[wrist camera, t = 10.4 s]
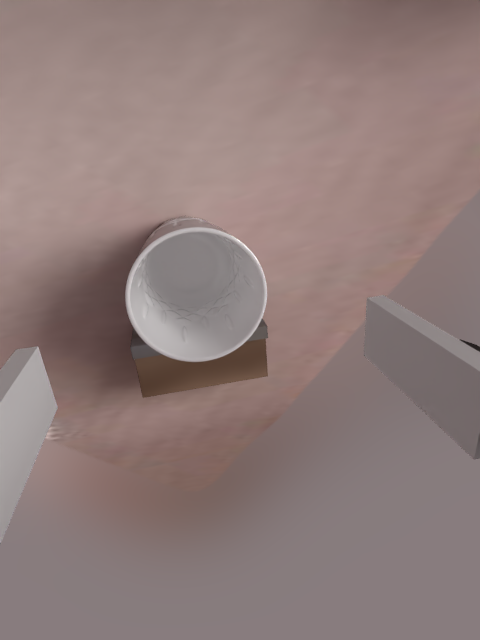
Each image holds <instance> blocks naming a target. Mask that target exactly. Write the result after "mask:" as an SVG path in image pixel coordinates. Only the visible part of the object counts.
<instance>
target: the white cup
mask: <svg viewBox="0 0 480 640" xmlns="http://www.w3.org/2000/svg"><path fill="white" fill-rule="evenodd" d="M266 301H267V285H266V280H265V276H264V272H263V270H262V267H261V265H260V263H259V261H258V260H257V258H256V257H255V255H254V254H253V253H252V252H251V250H250V249H249V248H248V247H247V246H246V245H245V244H243V243H242V242H241V241H240V240H238V239H237V238H235V237H233V236H232V235H231V234H229V233H228V232H226V231H225V230H223V229H222V228H220V227H218V226H216V225H214V224H212V223H210V222H208V221H206V220H203V219H198V218H193V217H188V216H183V217H179V218H175V219H171V220H167V221H165V222H164V223H163V224H162V225H161V226H159V227H158V228H157V229H156V230H155V231H154V232H153V233H152V234H151V235H150V236H149V238H148V239H147V240H146V242H145V243H144V245H143V246H142V248H141V250H140V252H139V254H138V256H137V258H136V260H135V262H134V264H133V266H132V268H131V270H130V273H129V276H128V279H127V283H126V289H125V303H126V309H127V313H128V316H129V319H130V322H131V324H132V326H133V327H134V329H135V331H136V332H137V334H138V335H139V336H140V338H141V339H142V340H143V341H144V342H145V343H146V344H147V345H149V346H150V347H151V348H152V349H154V350H155V351H157V352H159V353H160V354H162V355H164V356H167V357H169V358H172V359H176V360H180V361H186V362H203V361H209V360H214V359H217V358H220V357H223V356H225V355H227V354H229V353H231V352H233V351H234V350H236V349H237V348H239V347H240V346H241V345H243V344H244V343H245V342H246V341H247V340H248V339H249V338H250V337H251V336H252V334H253V333H254V332H255V330H256V329H257V327H258V325H259V323H260V321H261V319H262V317H263V314H264V311H265V307H266Z"/></svg>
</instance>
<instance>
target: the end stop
mask: <svg viewBox="0 0 480 640" xmlns="http://www.w3.org/2000/svg"><path fill="white" fill-rule="evenodd" d="M265 338H268V333H267V325H266V324H265V322H264V321H263V319H261V321H260V323H259V325H258V327H257V329H256V330H255V332H254V333H253V334H252V336H251V337H250V338H249V339H248V340H247V341H246V342H245V343H244V344H243V345H241V346H240V347H239V348H237V349H236V350H234V351H233V352H231V353H229V354H227V355H225V356H223V357H220V358H217V359H214V360H209V361H203V362H186V361H180V360H176V359H172V358H169V357H167V356H164V355H162V354H160V353H159V352H157V351H155V350H154V349H152V348H151V347H150V346H149V345H147V344H146V343H145V342H144V341H143V340H142V339H141V338H140V336H139V335H138V334H137V332H136V331H135V329H134V328H133V334H132V340H131V346H130V348H131V352H132V357H133V359H135V363H136V367H137V372H138V377H139V382H140V386H141V391H142V396H143V398H144V397H150V396H156V395H162V394H167V393H173V392H179V391H185V390H190V389H196V388H202V387H208V386H213V385H219V384H225V383H231V382H236V381H242V380H248V379H254V378H260V377H265V376H268V373H267V356H266V340H265Z"/></svg>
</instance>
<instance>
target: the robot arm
mask: <svg viewBox="0 0 480 640" xmlns="http://www.w3.org/2000/svg"><path fill="white" fill-rule="evenodd" d="M364 356H365V357H366V358H367V359H368V360H369V361H370V362H371V363H372V364H373V365H374V366H376V367H377V368H378V369H379V370H380V371H381V372H382V373H383V374H384V375H385V376H386V377H387V378H388V379H389V380H390V381H391V382H392V383H394V385H396V386H397V387H398V388H399V389H400V390H401V391H402V392H403V393H404V394H405V395H406V396H407V397H408V398H409V399H410V400H411V401H413V402H414V403H415V404H416V405H417V406H418V407H419V408H420V409H421V410H422V411H423V412H424V413H425V414H426V415H427V416H428V417H429V418H430V419H432V420H433V421H434V422H435V423H436V424H437V425H438V426H439V427H440V428H441V429H442V430H443V431H444V432H445V433H446V434H448V435H449V436H450V437H451V438H452V439H453V440H454V441H455V442H456V443H457V444H458V445H459V446H460V447H461V448H462V449H463V450H465V452H466V453H468V454H469V455H470V456H471V457H472V458H473V459H478V458H480V347H479V346H477V345H475V344H472V343H469V342H466V341H463V340H458V339H457V338H455V337H453V336H452V335H450V334H448V333H447V332H445V331H443V330H442V329H440V328H438V327H436V326H435V325H433V324H431V323H430V322H428V321H426V320H425V319H423V318H421V317H420V316H418V315H416V314H414V313H413V312H411V311H409V310H408V309H406V308H404V307H403V306H401V305H399V304H398V303H396V302H394V301H392V300H391V299H389V298H387V297H386V296H384V295H383V296H376V297H369V298H367V306H366V325H365V343H364ZM57 408H58V407H57V404H56V401H55V398H54V394H53V391H52V388H51V385H50V382H49V379H48V376H47V373H46V370H45V366H44V363H43V360H42V357H41V354H40V351H39V348H38V346H36V347H30V348H23V349H16V350H15V352H14V353H13V354H12V355H11V357H10V358H9V359H8V361H7V362H6V363H5V364H4V366H3V367H2V368H1V370H0V544H1V541H2V539H3V537H4V534H5V532H6V529H7V527H8V525H9V522H10V520H11V518H12V515H13V513H14V510H15V508H16V506H17V503H18V501H19V499H20V496H21V494H22V491H23V489H24V487H25V484H26V482H27V479H28V477H29V475H30V472H31V470H32V467H33V465H34V463H35V460H36V458H37V456H38V453H39V451H40V448H41V446H42V444H43V441H44V439H45V437H46V434H47V432H48V430H49V427H50V425H51V422H52V420H53V418H54V415H55V413H56V411H57Z"/></svg>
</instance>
